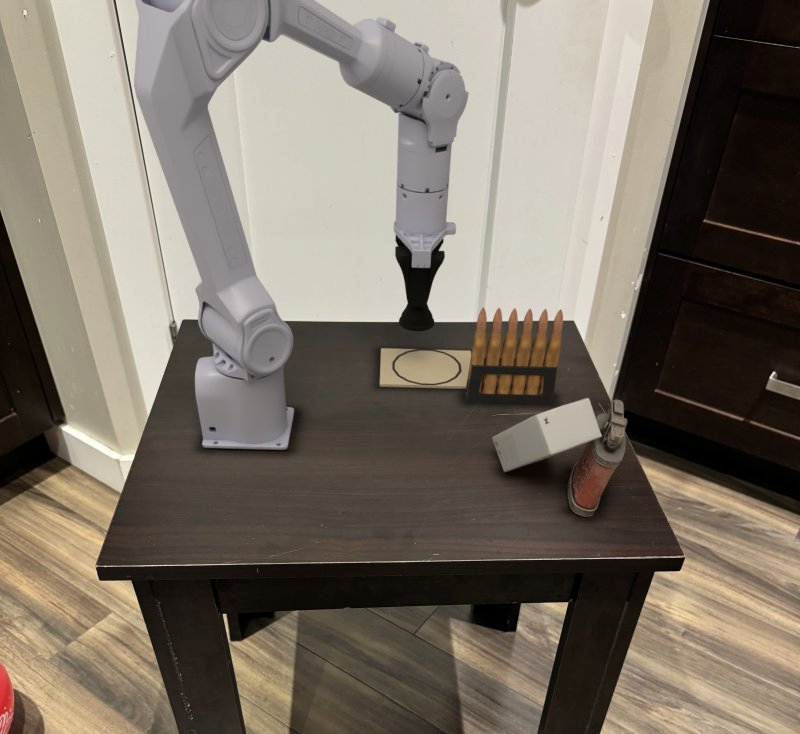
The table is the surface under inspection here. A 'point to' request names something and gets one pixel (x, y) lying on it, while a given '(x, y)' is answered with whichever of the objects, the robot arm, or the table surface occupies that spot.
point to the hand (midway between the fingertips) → (416, 300)
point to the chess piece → (416, 319)
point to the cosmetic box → (547, 434)
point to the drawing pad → (424, 368)
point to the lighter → (598, 461)
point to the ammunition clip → (514, 361)
